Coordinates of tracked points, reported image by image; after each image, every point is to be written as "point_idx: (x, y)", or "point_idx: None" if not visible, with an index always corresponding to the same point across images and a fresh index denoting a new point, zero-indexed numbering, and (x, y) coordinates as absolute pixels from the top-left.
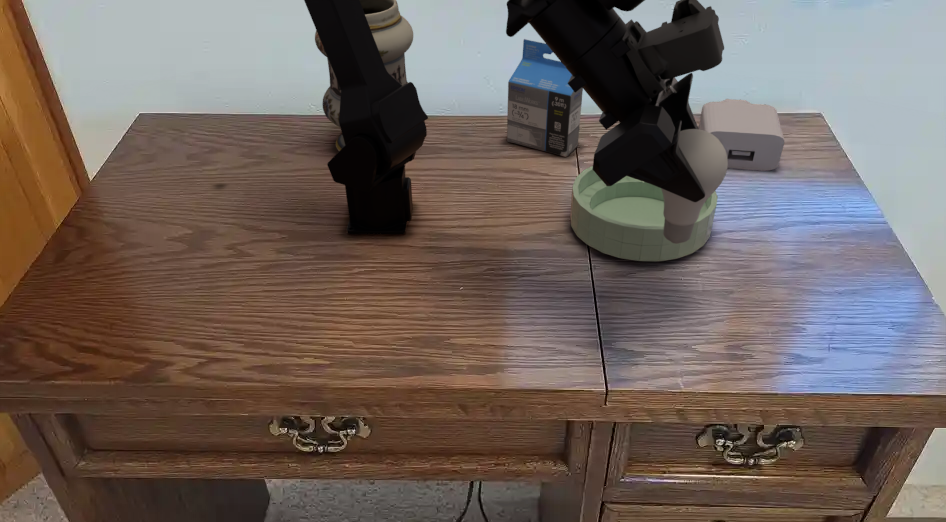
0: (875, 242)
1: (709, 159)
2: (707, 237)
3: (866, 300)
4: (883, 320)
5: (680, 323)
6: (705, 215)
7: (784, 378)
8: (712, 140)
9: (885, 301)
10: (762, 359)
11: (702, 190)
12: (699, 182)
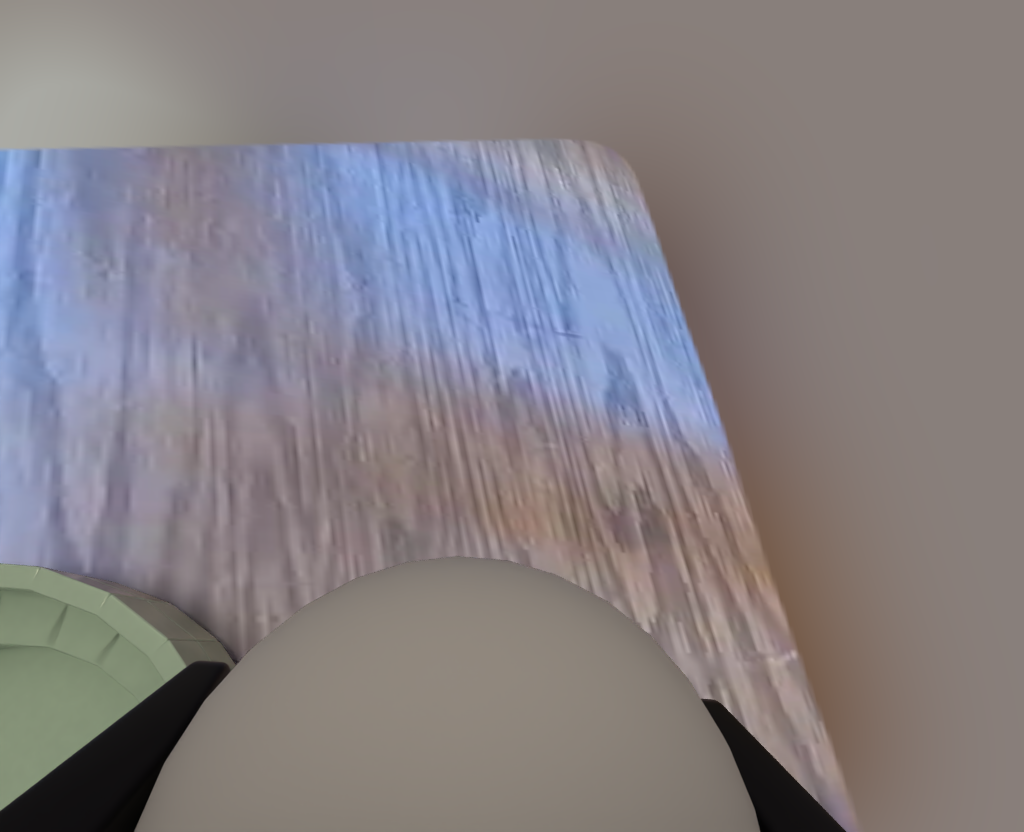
0: (133, 172)
1: (706, 740)
2: (135, 591)
3: (384, 237)
4: (452, 223)
5: None
6: (120, 611)
7: (691, 430)
8: (543, 750)
9: (383, 206)
10: (644, 468)
11: (738, 729)
12: (744, 770)
